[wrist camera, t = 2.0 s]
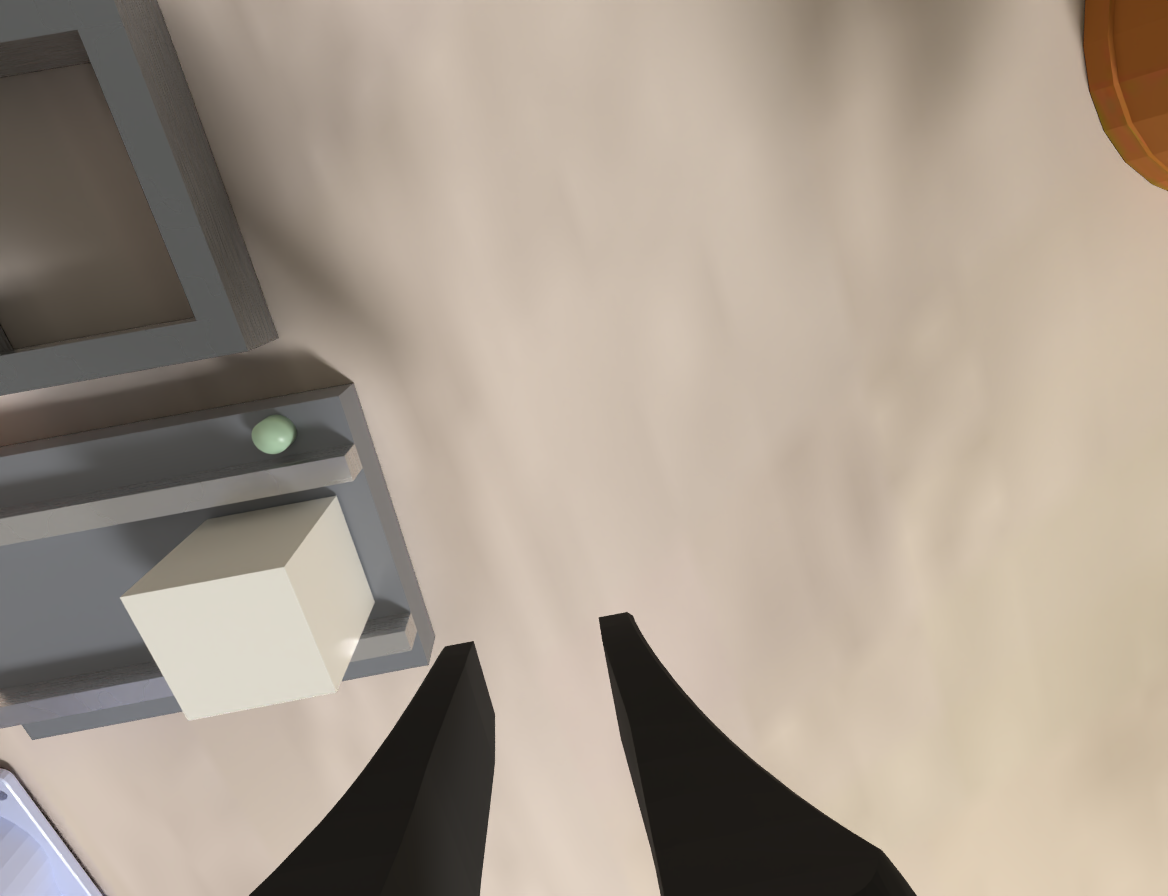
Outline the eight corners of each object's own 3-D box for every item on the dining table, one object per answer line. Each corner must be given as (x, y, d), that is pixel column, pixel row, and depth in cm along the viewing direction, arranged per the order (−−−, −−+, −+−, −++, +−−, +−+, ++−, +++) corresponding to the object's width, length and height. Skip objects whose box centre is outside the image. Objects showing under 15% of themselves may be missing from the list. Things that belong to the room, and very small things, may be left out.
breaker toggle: (374, 602, 19) (336, 692, 15) (255, 624, 19) (187, 721, 15) (336, 495, 18) (283, 566, 14) (206, 519, 18) (119, 597, 14)
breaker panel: (435, 636, 22) (423, 685, 19) (64, 706, 22) (8, 764, 19) (353, 383, 18) (327, 406, 16) (-94, 464, 18) (-188, 499, 16)
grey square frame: (278, 337, 17) (248, 351, 16) (-3, 388, 17) (-67, 407, 15) (157, 1, 14) (100, -33, 12) (-187, 58, 14) (-296, 33, 12)
